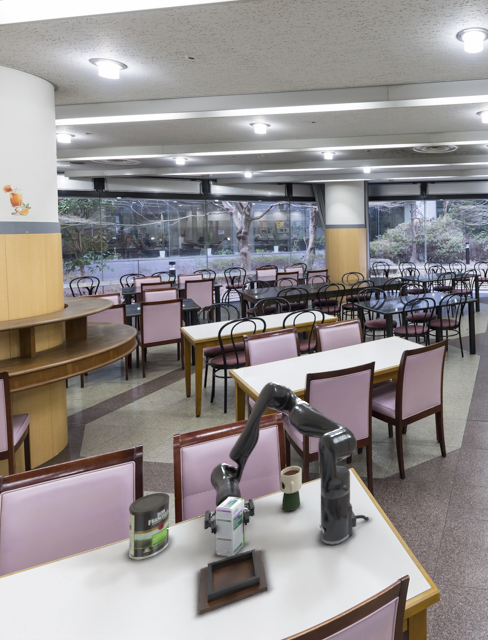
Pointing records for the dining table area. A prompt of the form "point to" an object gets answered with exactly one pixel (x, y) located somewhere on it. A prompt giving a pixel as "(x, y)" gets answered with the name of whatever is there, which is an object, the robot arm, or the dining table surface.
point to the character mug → (291, 487)
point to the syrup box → (230, 526)
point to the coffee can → (149, 525)
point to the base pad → (231, 580)
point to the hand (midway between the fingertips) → (230, 526)
